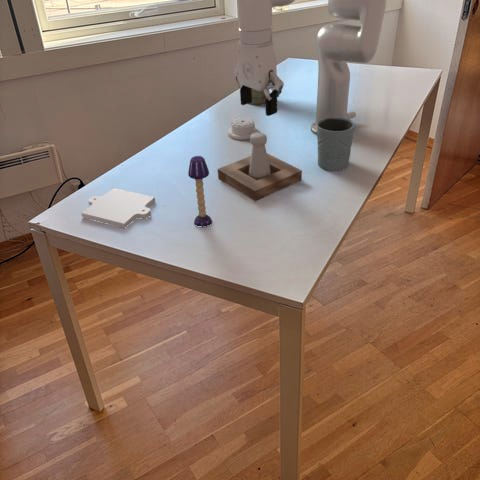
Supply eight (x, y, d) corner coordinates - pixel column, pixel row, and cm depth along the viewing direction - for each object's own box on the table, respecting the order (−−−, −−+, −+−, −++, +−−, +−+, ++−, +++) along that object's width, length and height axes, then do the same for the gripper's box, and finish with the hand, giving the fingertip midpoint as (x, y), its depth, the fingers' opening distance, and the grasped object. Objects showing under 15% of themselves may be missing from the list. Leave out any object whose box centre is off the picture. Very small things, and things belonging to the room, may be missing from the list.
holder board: (263, 160, 139) (262, 151, 137) (301, 180, 128) (301, 170, 126) (218, 178, 131) (217, 169, 129) (255, 201, 121) (255, 191, 119)
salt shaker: (273, 175, 131) (272, 131, 123) (267, 185, 127) (266, 140, 119) (252, 173, 133) (251, 129, 125) (246, 183, 128) (243, 138, 121)
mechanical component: (225, 140, 152) (255, 141, 150) (224, 127, 150) (255, 128, 148) (231, 127, 160) (260, 128, 158) (230, 115, 157) (260, 115, 156)
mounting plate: (164, 205, 122) (163, 198, 121) (134, 232, 113) (132, 225, 112) (107, 192, 129) (106, 186, 128) (75, 217, 119) (73, 210, 118)
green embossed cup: (328, 175, 130) (331, 134, 122) (307, 161, 137) (309, 121, 130) (358, 166, 133) (362, 125, 126) (336, 153, 140) (339, 113, 133)
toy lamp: (194, 217, 116) (186, 154, 106) (213, 215, 116) (207, 152, 106) (194, 228, 112) (186, 164, 102) (214, 226, 112) (208, 162, 103)
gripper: (220, 33, 112) (225, 103, 122) (268, 46, 101) (270, 123, 111) (245, 26, 115) (248, 96, 126) (294, 38, 104) (293, 114, 114)
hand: (258, 108), depth 118 cm, fingers open, 9 cm apart
